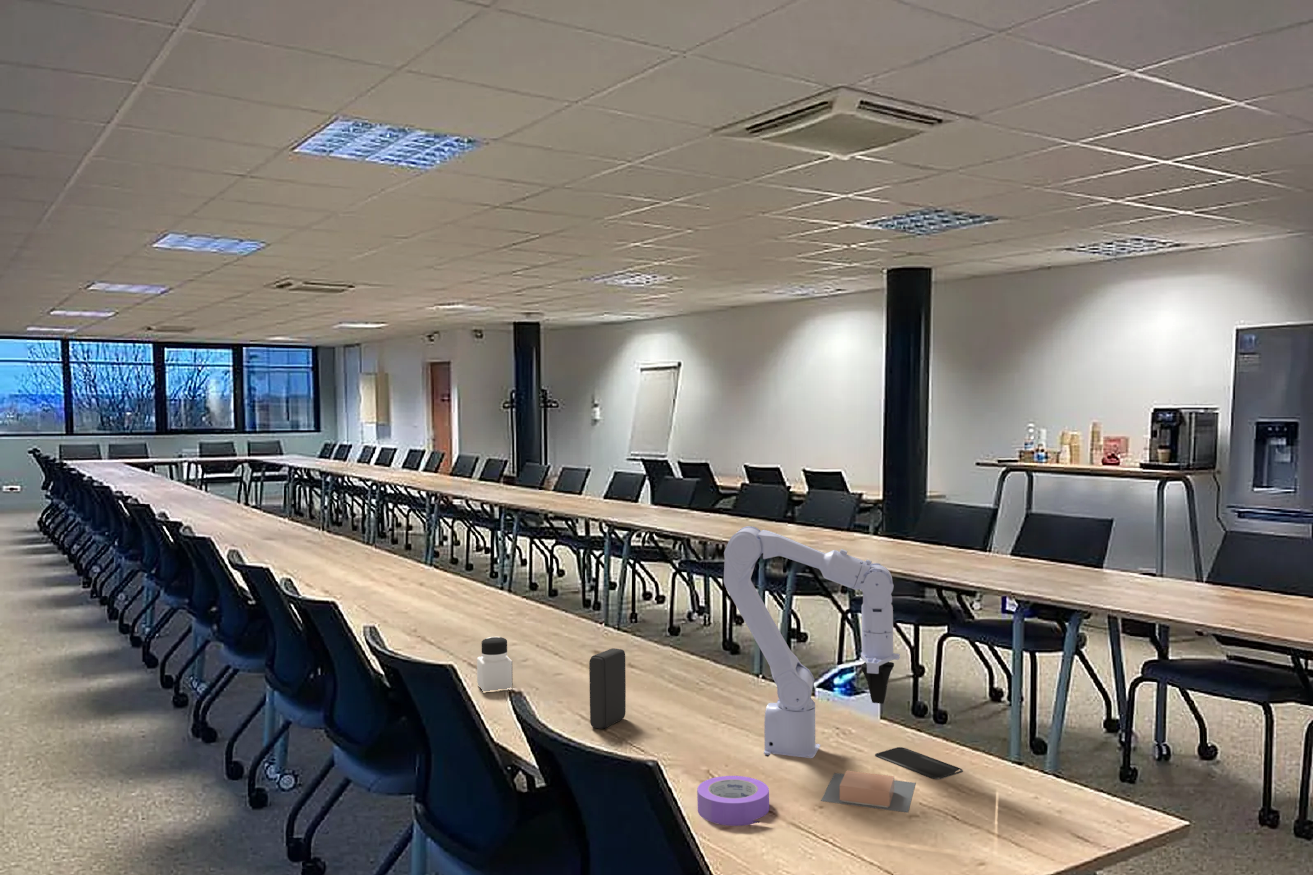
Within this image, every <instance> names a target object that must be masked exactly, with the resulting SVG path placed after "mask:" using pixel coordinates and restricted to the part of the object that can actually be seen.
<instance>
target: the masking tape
mask: <svg viewBox="0 0 1313 875" xmlns="http://www.w3.org/2000/svg"><path fill="white" fill-rule="evenodd" d="M696 789H697V791H696V793H697V797H696V798H697V813H698V815H699V816H700V817H701V818H702V819H703V820H706V821H708V822H711V823H713V824H716V825H722V826H733V827H734V826H735V827H738V826H739V827H740V826H747V825H748V826H749V825H754V824H757V823H760V822H761V821H760V820H758V819H760V818H762V817H765V816H766V815H767V814H768V813H769V811H770V789H769V786H768V785H767V784H766V783H764V782H763V781H761V780H759V779H757V778H752V777H749V776H744V775H742V776H741V775H724V776H723V775H722V776H716V777H711V778H710V779H705V780H704V781H702V782H701V783H700V784H699V785H698V786H697V788H696Z"/></svg>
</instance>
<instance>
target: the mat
mask: <svg viewBox="0 0 1313 875" xmlns="http://www.w3.org/2000/svg"><path fill="white" fill-rule="evenodd" d="M844 775H845V773H839V772H834V773H833V775H832V777H831V779H830V781H829V783H828V785H827V788H826V789H825V792H824V793H823V796H822V798H821V799H820V801H821V802H825V803H826V802H827V803H832V804H833V803H834V804H841V805H847V806H856V807H864V808H870V809H871V808H872V809H877V810H879V809H880V810H884V811H885V810H886V811H892V812H893V811H894V812H898V813H899V812H900V813H909V810H910V806H911V803H912V800H913V795H914V792H915V787H916V782H912V781H905V780H904V781H903V780H896V779H894V793H893V796H892V800H891V803H890V806H889V807H888V808H887V807H879V806H872V805H864V804H857V803H849V802H842V801H841V800H840V784H841V781H842V779H843V777H844Z"/></svg>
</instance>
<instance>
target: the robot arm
mask: <svg viewBox="0 0 1313 875" xmlns="http://www.w3.org/2000/svg"><path fill="white" fill-rule="evenodd" d="M839 550H840V551H839ZM839 550H837V549H833V550H830V551H829V552H823V551H820V550H818V549H815V548H813V547H811V546H808V545H806V544H803V543H801V542H799V541H796V540H794V539H792V538H789V537H786V536H784V535H782V534H779V533H777V532H773V531H770V530H768V529H767V530H766V529H759V527H755V526H749V525H748V526H744V527H741V528H740V529H739V530H738V531H737V532H736V533H734V534H733V535H732V536H731V537H730V539H729V540H728V542H727V545H726V547H725V549H724V552H723V555H724V556H723V557H724V563H723V564H724V565H723V566H724V567H723V568H724V569H723V584H724V587H725V588H726V591H727V592H728V594H729V596H730V598H731V599H732V601H733V603H734V605H735V606H736V609H737V611H738V612H739V614H740V615H741V617H742V619H743V621H744V623H745V624H746V626H747V628H748V629H749V632H750V633H751V636H753V639H754V640H755V642H756V644H757V646H758V647H759V649H760V651H761V652H762V654H763V657H764V658H765V660H766V661H767V664H768V665H769V668H770V673H771V676H772V679H773V681H774V683H775V685H776V689H777V697H778V699H777V701H776V702H769V703H767V705H766V708H765V712H764V751H763V754H764V755H767V756H771V754H773V755H783V756H790V757H799V758H807V759H813V758H814V757H815V756H816V754H817V752H818V751H819V749H820V747H821V744H819V743H816V702H815V700H814V699H813V698H812V691H813V688H814V686H815V679H814V678H815V677H814V675H813V673H812V671H811V670H810V669H809V668H808V667H806V666H805V665H803V664H802V663H801V661H800V660H799V658H798V656H797V655H795V653H794V652H793V651H792V650H791V649H790V647H789V645H788V644H787V641H786V640H785V638H784V637H783V635H782V633H781V631H780V629H779V628H778V626H777V624H776V622H775V620H774V618H773V617H772V615H771V613H770V611H769V610H768V608H767V606H766V605H765V603H764V601H763V599H762V597H761V596H760V594H759V592H758V590H757V589H756V587H755V585H754V583H753V581H752V579H751V578H752V575H753V572H754V569H755V566H756V563H757V562H758V559H759V558H760V557H761V555H762V559H763V560H766V559H772V558H775V557H783V558H785V559H789V560H792V561H794V562H797V563H801V564H802V565H806V566H809V567H812V568H815V569H818V570H819V571H820V573H821V575H822V577H823V579H826V580H828V581H830V582H833V583H837V584H839V585H842V586H844V587H847V588H849V589H852V590H855V591H857V590H861V592H862V604H861V653H860V657H861V659H862V660H863V661H864V662H863V663H861V667H860V668H861V672H862V673H863V675H864V677H865V679H866V684H867V685H868V690H869V696H870V700H871V704H872V703H873V704H883V705H884V703H885V699H886V696H887V690H888V685H889V684H888V683H889V679H890V677H891V673H892V671H893V668H894V666H895V663H894V662H893V660H897V661H898V660H900V659H901V656H900V653H895V652H894V611H893V610H894V607H893V606H894V605H893V604H892V603H893V596H892V593H893V591H894V588H895V587H894V586H895V585H894V583H893V577H892V573H891V571H889V569H888V568H887V567H885V566H884V565H882V564H881V563H879V562H874V563H872V560H870V559H866V560H863V559H861V558H858V557H855V556H852V555H849V554H848V551H847V550H846V549H843V548H841V549H839Z"/></svg>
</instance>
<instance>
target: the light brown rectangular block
mask: <svg viewBox="0 0 1313 875" xmlns="http://www.w3.org/2000/svg"><path fill="white" fill-rule="evenodd" d="M844 774H845V775H844V777H843V779H842V781H841V784H840V800H841V801H842V802H849V803H857V804H864V805H872V806H879V807H887V808H888V807H889V806H890V803H891V800H892V796H893V793H894V780H895V776H894V775H888V774H887V775H886V774H878V773H871V772H863V771H853V770H845V772H844Z"/></svg>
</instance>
